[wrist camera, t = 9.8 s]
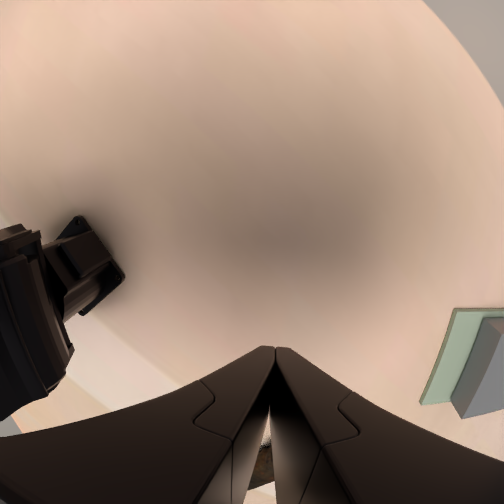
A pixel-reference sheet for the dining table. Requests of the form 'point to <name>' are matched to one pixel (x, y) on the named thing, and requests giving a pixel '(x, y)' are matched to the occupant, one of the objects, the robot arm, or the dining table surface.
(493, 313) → the mat
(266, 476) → the hand tool
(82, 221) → the robot arm
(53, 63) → the dining table surface
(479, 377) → the gray rectangular block
